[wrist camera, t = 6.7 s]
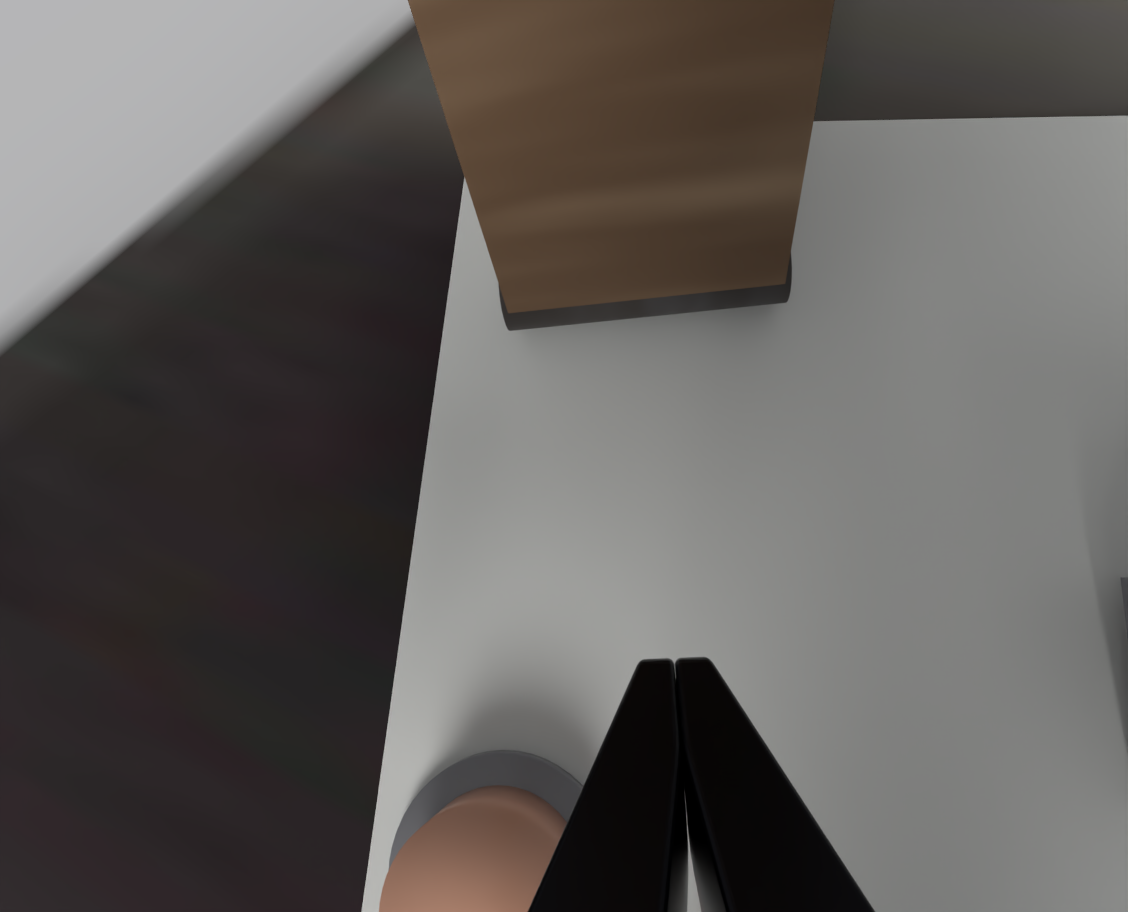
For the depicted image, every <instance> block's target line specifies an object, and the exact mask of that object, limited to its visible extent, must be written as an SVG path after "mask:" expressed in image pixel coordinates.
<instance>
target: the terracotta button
mask: <svg viewBox="0 0 1128 912" xmlns="http://www.w3.org/2000/svg"><path fill="white" fill-rule="evenodd" d="M566 824H567V822H566V821H565V819H564V818H563V817H562V816H561V815H560V813H559V812H558V811H557V810H556V809H555V808H553V807H552V806H551V805H550V804H549V803H547V802H546V801H545V800H543V799H542V798H541V797H539V796H537V795H535V794H533V793H531V792H529V791H526V790H523V789H521V788H517V787H512V786H504V785H493V786H485V787H480V788H476V789H473V790H471V791H468V792H466V793H464V794H462V795H460V796H458V797H457V798H455V799H454V800H453V801H451V802H450V803H449V804H447V805H446V806H445V807H444V808H443V809H441V810H440V811H439V812H438V813H437V814H436V815H435V816H433V817H432V818H431V819H430V820H429V821H428V822H426V823H425V824H424V825H423V826H422V827H421V828H420V829H418V830H417V831H416V832H415V833H414V834H413V835H412V836H411V837H410V838H409V839H408V840H407V841H406V843H405V844H404V845H403V847H402V848H401V849H400V850H399V852H398V854H397V855H396V857H395V859H394V860H393V862H392V864H391V866H390V869H389V871H388V873H387V875H386V878H385V882H384V885H383V888H382V893H381V898H380V904H379V912H528V909H529V907H530V905H531V903H532V900H533V898H534V896H535V894H536V891H537V889H538V887H539V885H540V882H541V880H542V878H543V876H544V873H545V871H546V869H547V867H548V864H549V862H550V860H551V858H552V855H553V853H554V851H555V849H556V846H557V844H558V842H559V840H560V837H561V835H562V833H563V831H564V828H565V826H566Z"/></svg>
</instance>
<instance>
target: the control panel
mask: <svg viewBox="0 0 1128 912" xmlns="http://www.w3.org/2000/svg"><path fill="white" fill-rule="evenodd" d="M791 259H792V282H791V291H790V296H789V299H788V301H787V302H786V303H778V304H769V305H759V306H749V307H739V308H729V309H720V310H710V311H700V312H690V313H681V314H671V315H661V316H651V317H641V318H632V319H622V320H612V321H602V322H593V323H583V324H573V325H563V326H553V327H544V328H534V329H524V330H514V331H509V330H508V329H507V327H506V324H505V321H504V318H503V314H502V309H501V303H500V296H499V284H498V280H497V277H496V274H495V271H494V267H493V264H492V261H491V258H490V255H489V252H488V249H487V246H486V242H485V239H484V236H483V233H482V230H481V227H480V224H479V221H478V218H477V214H476V211H475V208H474V205H473V202H472V199H471V196H470V193H469V189H468V186H467V183H466V180H465V177H464V184H463V192H462V199H461V206H460V213H459V220H458V227H457V234H456V241H455V249H454V256H453V263H452V270H451V277H450V284H449V291H448V299H447V306H446V313H445V320H444V327H443V334H442V341H441V349H440V356H439V363H438V370H437V377H436V384H435V391H434V399H433V406H432V413H431V420H430V427H429V434H428V441H427V448H426V456H425V463H424V470H423V477H422V484H421V491H420V498H419V506H418V513H417V520H416V527H415V534H414V541H413V548H412V556H411V563H410V570H409V577H408V584H407V591H406V598H405V605H404V613H403V620H402V627H401V634H400V641H399V648H398V655H397V663H396V670H395V677H394V684H393V691H392V698H391V705H390V713H389V720H388V727H387V734H386V741H385V748H384V755H383V763H382V770H381V777H380V784H379V791H378V798H377V805H376V812H375V820H374V827H373V834H372V841H371V848H370V855H369V862H368V870H367V877H366V884H365V891H364V898H363V905H362V912H379V904H380V898H381V893H382V888H383V885H384V882H385V878H386V875H387V873H388V871H389V869H390V866H391V864H392V862H393V860H394V859H395V857H396V855H397V854H398V852H399V850H400V849H401V848H402V847H403V845H404V844H405V843H406V841H407V840H408V839H409V838H410V837H411V836H412V835H413V834H414V833H415V832H416V831H417V830H418V829H420V828H421V827H422V826H423V825H424V824H425V823H426V822H428V821H429V820H430V819H431V818H432V817H433V816H435V815H436V814H437V813H438V812H439V811H440V810H441V809H443V808H444V807H445V806H446V805H447V804H449V803H450V802H451V801H453V800H454V799H455V798H457V797H458V796H460V795H462V794H464V793H466V792H468V791H471V790H473V789H476V788H480V787H485V786H493V785H504V786H512V787H517V788H521V789H523V790H526V791H529V792H531V793H533V794H535V795H537V796H539V797H541V798H542V799H543V800H545V801H546V802H547V803H549V804H550V805H551V806H552V807H553V808H555V809H556V810H557V811H558V812H559V813H560V815H561V816H562V817H563V818H564V819H565V821H566V822H568V819H569V817H570V815H571V812H572V810H573V808H574V806H575V803H576V801H577V799H578V797H579V794H580V792H581V790H582V788H583V785H584V783H585V781H586V779H587V776H588V774H589V772H590V770H591V767H592V765H593V763H594V761H595V758H596V756H597V754H598V752H599V749H600V747H601V745H602V743H603V740H604V738H605V736H606V734H607V731H608V729H609V727H610V725H611V722H612V720H613V718H614V716H615V713H616V711H617V709H618V706H619V704H620V702H621V700H622V697H623V695H624V693H625V691H626V688H627V686H628V684H629V682H630V679H631V677H632V675H633V673H634V670H635V668H636V666H637V664H638V663H639V662H640V661H641V660H643V659H659V658H669V659H671V660H672V661H673V662H674V666H675V662H676V660H677V659H678V658H685V657H707V658H709V659H710V660H711V661H712V662H713V663H714V665H715V666H716V668H717V669H718V671H719V673H720V674H721V676H722V677H723V679H724V680H725V682H726V683H727V685H728V686H729V688H730V689H731V691H732V693H733V694H734V696H735V697H736V699H737V700H738V702H739V703H740V705H741V706H742V708H743V709H744V711H745V712H746V714H747V716H748V717H749V719H750V720H751V722H752V723H753V725H754V726H755V728H756V729H757V731H758V732H759V734H760V735H761V737H762V739H763V740H764V742H765V743H766V745H767V746H768V748H769V749H770V751H771V752H772V754H773V755H774V757H775V759H776V760H777V762H778V763H779V765H780V766H781V768H782V769H783V771H784V772H785V774H786V775H787V777H788V778H789V780H790V782H791V783H792V785H793V786H794V788H795V789H796V791H797V792H798V794H799V795H800V797H801V798H802V800H803V802H804V803H805V805H806V806H807V808H808V809H809V811H810V812H811V814H812V815H813V817H814V818H815V820H816V821H817V823H818V825H819V826H820V828H821V829H822V831H823V832H824V834H825V835H826V837H827V838H828V840H829V841H830V843H831V845H832V846H833V848H834V849H835V851H836V852H837V854H838V855H839V857H840V858H841V860H842V861H843V863H844V864H845V866H846V868H847V869H848V871H849V872H850V874H851V875H852V877H853V878H854V880H855V881H856V883H857V884H858V886H859V887H860V889H861V891H862V892H863V894H864V895H865V897H866V898H867V900H868V901H869V903H870V904H871V906H872V907H873V909H874V911H875V912H1128V638H1127V630H1126V621H1125V613H1124V604H1123V596H1122V587H1121V579H1120V577H1128V116H1080V117H1024V118H969V119H914V120H858V121H813V127H812V133H811V138H810V144H809V150H808V156H807V161H806V167H805V173H804V179H803V184H802V190H801V196H800V202H799V207H798V213H797V219H796V225H795V230H794V236H793V242H792V248H791ZM675 677H676V675H675ZM685 804H686V801H685ZM686 818H687V814H686ZM687 833H688V826H687ZM687 912H701V907H700V902H699V897H698V891H697V886H696V881H695V876H694V871H693V865H692V859H691V853H690V845H689V836H688V902H687Z"/></svg>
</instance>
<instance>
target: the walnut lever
mask: <svg viewBox="0 0 1128 912" xmlns="http://www.w3.org/2000/svg"><path fill="white" fill-rule="evenodd" d="M834 1H835V0H408V2H409V5H410V8H411V12H412V15H413V18H414V21H415V24H416V27H417V30H418V33H419V37H420V40H421V43H422V46H423V49H424V52H425V55H426V58H427V62H428V65H429V68H430V71H431V74H432V77H433V80H434V83H435V86H436V90H437V93H438V96H439V99H440V102H441V105H442V108H443V111H444V115H445V118H446V121H447V124H448V127H449V130H450V133H451V136H452V140H453V143H454V146H455V149H456V152H457V155H458V158H459V161H460V164H461V168H462V171H463V174H464V177H465V180H466V183H467V186H468V189H469V193H470V196H471V199H472V202H473V205H474V208H475V211H476V214H477V218H478V221H479V224H480V227H481V230H482V233H483V236H484V239H485V242H486V246H487V249H488V252H489V255H490V258H491V261H492V264H493V267H494V271H495V274H496V277H497V280H498V284H499V296H500V303H501V309H502V314H503V318H504V321H505V324H506V327H507V329H508V330H509V331H514V330H524V329H534V328H544V327H553V326H563V325H573V324H583V323H593V322H602V321H612V320H622V319H632V318H641V317H651V316H661V315H671V314H681V313H690V312H700V311H710V310H720V309H729V308H739V307H749V306H759V305H769V304H778V303H786V302H787V301H788V299H789V296H790V291H791V282H792V259H791V248H792V242H793V236H794V230H795V225H796V219H797V213H798V207H799V202H800V196H801V190H802V184H803V179H804V173H805V167H806V161H807V156H808V150H809V144H810V138H811V133H812V127H813V121H814V115H815V110H816V104H817V98H818V92H819V87H820V81H821V75H822V69H823V64H824V58H825V52H826V47H827V41H828V35H829V29H830V24H831V18H832V12H833V6H834Z"/></svg>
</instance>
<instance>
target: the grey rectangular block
mask: <svg viewBox="0 0 1128 912" xmlns="http://www.w3.org/2000/svg"><path fill="white" fill-rule="evenodd" d="M1120 579H1121V587H1122V596H1123V604H1124V613H1125V621H1126V630H1127V638H1128V577H1120Z"/></svg>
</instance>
